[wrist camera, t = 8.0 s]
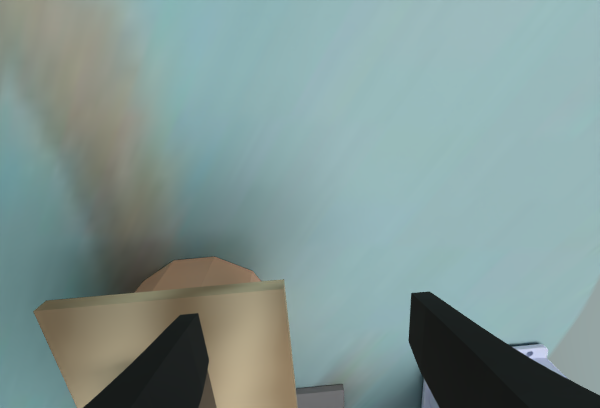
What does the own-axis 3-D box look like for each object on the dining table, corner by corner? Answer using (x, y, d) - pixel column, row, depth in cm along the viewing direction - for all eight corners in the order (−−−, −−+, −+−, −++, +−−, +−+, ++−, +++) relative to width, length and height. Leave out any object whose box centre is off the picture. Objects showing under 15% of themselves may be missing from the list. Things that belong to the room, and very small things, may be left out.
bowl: (270, 251, 19) (265, 293, 15) (284, 366, 23) (283, 426, 18) (118, 265, 19) (70, 311, 15) (154, 378, 23) (124, 442, 18)
